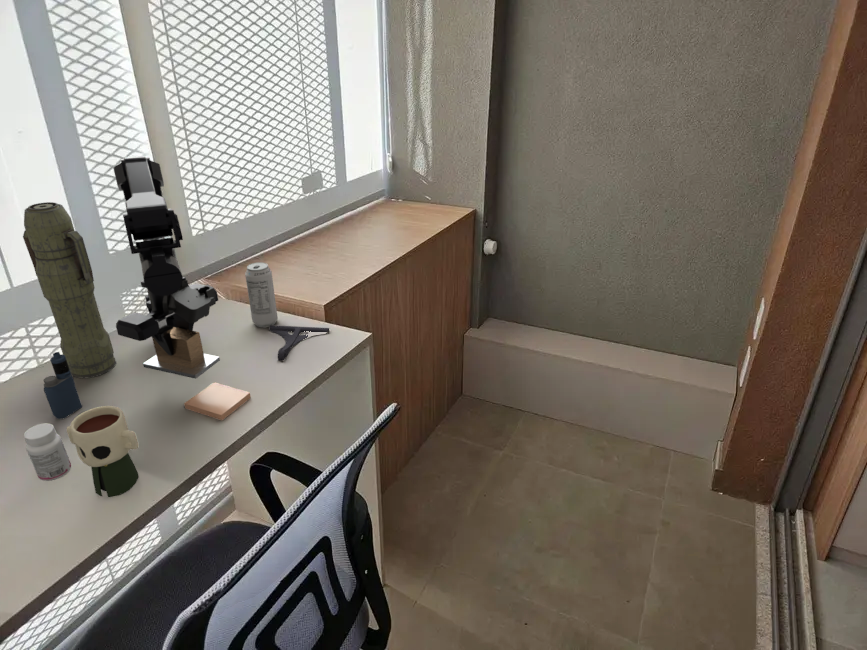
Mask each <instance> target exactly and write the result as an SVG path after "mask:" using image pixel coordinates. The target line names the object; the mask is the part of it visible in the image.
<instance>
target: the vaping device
mask: <svg viewBox="0 0 867 650" xmlns="http://www.w3.org/2000/svg"><path fill="white" fill-rule="evenodd" d="M50 363H51V366H52V369H53V371H54V374H55V375H50V376H49V375H48V376H46V377H45V378H44V379H43V391H44V394H45V397H46V400H47V403H48V405H49V408H50V411H51V413H52V415H53V416H54V417H55V418H56V419H58V420H63V418H64V419H65V418H68V417H69V416H71V415H72V414H74V413H75V412H76V411H78V410H80V409H81V408H82V407H83V404H82V402H81V399H80V396H79V394H78V389H77V387H76V383H75V380H74V378H73V377H74V376H72V374H71V372H70V369H69V366H68V363H67V360H66V357H65V355H63V354H61V353H60V352H59V351H56V352H55V351H54V352H53V353H52V357H51V358H50ZM73 412H74V413H73ZM70 414H71V415H70ZM68 415H69V416H68ZM67 416H68V417H67Z"/></svg>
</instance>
